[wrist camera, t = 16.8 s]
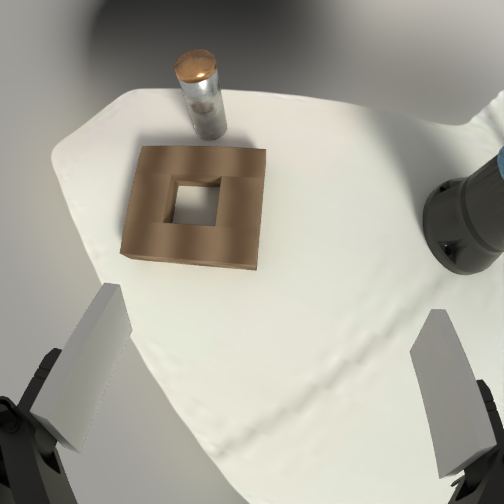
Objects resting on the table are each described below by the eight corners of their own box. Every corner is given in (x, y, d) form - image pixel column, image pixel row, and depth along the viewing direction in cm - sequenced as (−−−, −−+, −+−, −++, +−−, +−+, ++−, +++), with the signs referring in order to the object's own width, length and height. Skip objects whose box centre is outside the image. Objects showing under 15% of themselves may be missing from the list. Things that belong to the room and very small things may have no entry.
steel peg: (229, 115, 49) (218, 49, 34) (225, 141, 48) (211, 76, 33) (198, 114, 49) (179, 50, 34) (193, 140, 48) (169, 78, 33)
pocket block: (265, 162, 47) (265, 149, 43) (256, 270, 43) (255, 265, 39) (150, 158, 48) (142, 146, 44) (131, 258, 44) (119, 253, 40)
